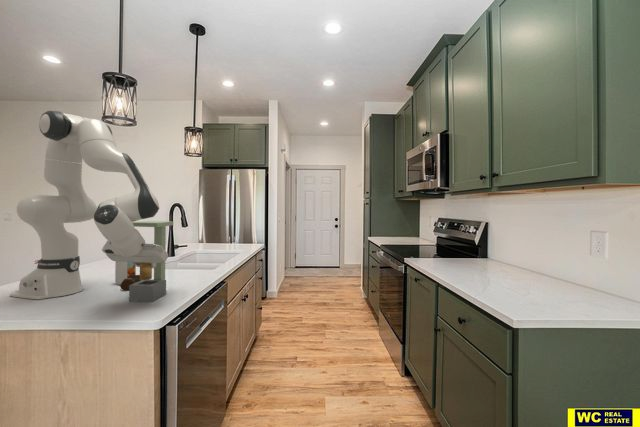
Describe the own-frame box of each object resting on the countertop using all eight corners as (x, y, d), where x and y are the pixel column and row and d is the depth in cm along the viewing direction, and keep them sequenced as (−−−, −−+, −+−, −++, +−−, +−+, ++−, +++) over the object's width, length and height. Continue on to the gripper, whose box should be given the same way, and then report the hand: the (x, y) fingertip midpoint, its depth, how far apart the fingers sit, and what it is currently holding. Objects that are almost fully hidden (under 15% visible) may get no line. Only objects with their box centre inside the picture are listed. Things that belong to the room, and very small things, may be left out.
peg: (137, 279, 109) (137, 256, 109) (143, 277, 113) (144, 254, 113) (147, 280, 109) (147, 256, 109) (154, 277, 113) (154, 254, 113)
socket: (129, 301, 108) (129, 285, 108) (144, 293, 117) (144, 279, 117) (152, 301, 108) (152, 286, 108) (166, 294, 117) (166, 279, 117)
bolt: (142, 285, 135) (129, 294, 121) (132, 280, 134) (117, 288, 120) (149, 274, 136) (137, 282, 121) (139, 269, 135) (125, 276, 120)
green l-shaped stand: (130, 299, 110) (131, 222, 109) (149, 290, 122) (150, 220, 121) (156, 300, 110) (157, 223, 109) (173, 291, 122) (173, 221, 121)
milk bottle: (119, 286, 127) (120, 241, 126) (112, 283, 131) (112, 239, 131) (138, 282, 133) (139, 239, 133) (130, 280, 138) (131, 238, 137)
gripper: (162, 237, 103) (176, 259, 113) (106, 236, 104) (125, 258, 114) (155, 252, 99) (170, 273, 109) (96, 250, 100) (117, 271, 110)
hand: (146, 265), depth 112 cm, fingers closed on peg, 4 cm apart
